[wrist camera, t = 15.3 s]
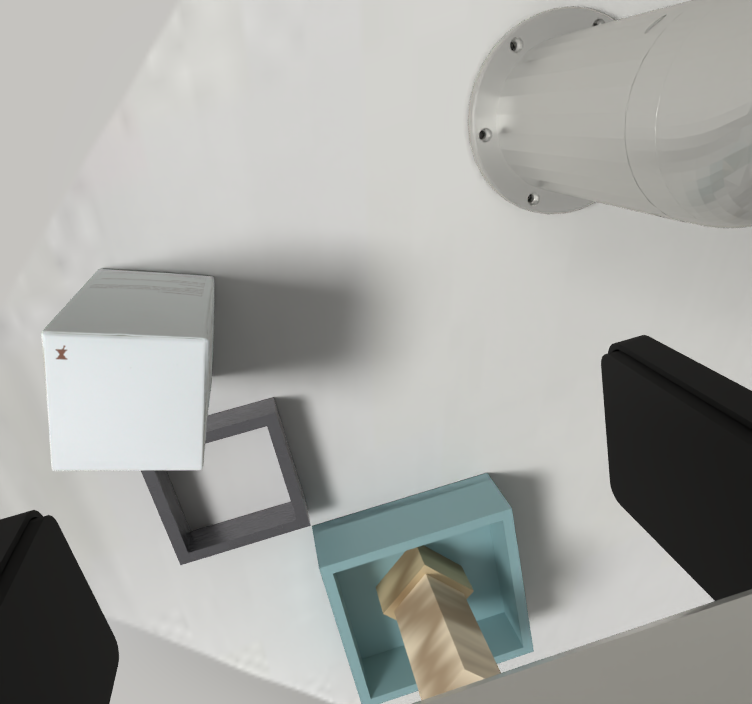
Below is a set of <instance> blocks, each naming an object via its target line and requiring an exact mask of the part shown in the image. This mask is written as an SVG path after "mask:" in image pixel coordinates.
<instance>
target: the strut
mask: <svg viewBox="0 0 752 704" xmlns="http://www.w3.org/2000/svg"><path fill="white" fill-rule="evenodd" d="M376 591H377V594H378V597H379V601H380V604H381V608H382V611H383V614H384V615H387V616H389V617H391V618H393V619H395V620H397V623H398V626H399V629H400V632H401V636H402V639H403V642H404V645H405V649H406V652H407V655H408V658H409V661H410V665H411V668H412V671H413V674H414V678H415V681H416V684H417V687H418V690H419V694H420V697H421V700H424V699H427V698H430V697H433V696H436V695H439V694H442V693H445V692H448V691H451V690H453V689H456V688H459V687H462V686H465V685H468V684H471V683H474V682H477V681H480V680H483V679H486V678H489V677H492V676H494V675H497V674H500V673H501V672H500V670H499V668H498V666H497V664H496V661H495V659H494V657H493V655H492V653H491V651H490V649H489V647H488V644H487V642H486V640H485V638H484V636H483V634H482V632H481V630H480V627H479V625H478V623H477V621H476V619H475V617H474V615H473V612H472V610H471V608H470V606H469V604H468V602H467V600H466V599H467V598H468V597H469V596H470V595H471V594H472V593H473V591H474V590H473V588H472V586H471V584H470V582H469V580H468V578H467V576H466V574H465V572H464V570H463V568H462V566H461V565H459V564H457V563H455V562H453V561H452V560H450V559H448V558H446V557H444V556H442V555H441V554H439V553H437V552H435V551H433V550H431V549H430V548H428V547H426V546H424V545H423V546H419V547H416V548H413V549H410V550H407V551H405V552H404V553H403V555H402V556H401V557H400V558H399V559H398V561H397V562H396V563H395V564H394V566H393V567H392V568H391V569H390V570H389V572H388V573H387V574H386V575H385V576H384V578H383V579H382V580H381V581H380V582H379V584H378V585H377V586H376Z"/></svg>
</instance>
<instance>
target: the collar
mask: <svg viewBox="0 0 752 704" xmlns="http://www.w3.org/2000/svg"><path fill="white" fill-rule="evenodd" d="M265 426H267V427H268V430H269V433H270V436H271V440H272V443H273V446H274V449H275V452H276V455H277V458H278V462H279V465H280V468H281V471H282V474H283V477H284V480H285V484H286V487H287V490H288V493H289V496H290V499H291V502H289V503H285V504H282V505H279V506H275V507H272V508H269V509H265V510H262V511H259V512H255V513H252V514H249V515H245V516H242V517H238V518H235V519H232V520H228V521H225V522H222V523H218V524H215V525H212V526H208V527H205V528H202V529H198V530H195V531H192V532H191V531H190V529H189V526H188V524H187V521H186V519H185V516H184V514H183V511H182V509H181V506H180V504H179V501H178V499H177V496H176V494H175V491H174V489H173V486H172V484H171V481H170V479H169V476H168V474H167V472H166V470H141V472H142V474H143V477H144V479H145V482H146V484H147V486H148V489H149V491H150V493H151V496H152V498H153V501H154V503H155V505H156V508H157V510H158V512H159V515H160V517H161V520H162V522H163V524H164V527H165V529H166V531H167V534H168V536H169V539H170V541H171V543H172V546H173V548H174V550H175V553H176V555H177V558H178V560H179V562H180V565H182V564H186V563H189V562H192V561H196V560H199V559H202V558H206V557H209V556H212V555H215V554H219V553H222V552H225V551H229V550H232V549H235V548H238V547H242V546H245V545H248V544H252V543H255V542H258V541H261V540H265V539H268V538H271V537H275V536H278V535H281V534H284V533H288V532H291V531H294V530H298V529H301V528H304V527H307V526H310V520H309V514H308V508H307V504H306V501H305V498H304V494H303V491H302V488H301V485H300V481H299V478H298V475H297V471H296V468H295V465H294V462H293V458H292V455H291V452H290V449H289V445H288V442H287V439H286V436H285V432H284V429H283V426H282V423H281V419H280V416H279V413H278V410H277V406H276V403H275V400H274V397H273V398H270V399H266V400H262V401H259V402H255V403H252V404H248V405H244V406H241V407H237V408H234V409H230V410H227V411H223V412H219V413H216V414H212V415H209V416H207V427H206V440H205V443H209V442H212V441H216V440H219V439H223V438H226V437H230V436H233V435H237V434H240V433H244V432H247V431H251V430H254V429H258V428H262V427H265Z"/></svg>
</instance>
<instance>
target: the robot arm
mask: <svg viewBox="0 0 752 704" xmlns="http://www.w3.org/2000/svg"><path fill="white" fill-rule="evenodd" d="M593 25H594V26H593ZM510 42H512V43H514V49H513V51H512V50H511V48H510ZM468 130H469V140H470V145H471V149H472V152H473V156H474V159H475V162H476V164H477V166H478V168H479V170H480V172H481V174H482V176H483V177H484V178H485V180H486V181H487V182H488V183H489V185H490V186H491V187H492V189H493V190H494V191H496V192H497V193H498V194H499V195H500V196H501V197H503V198H504V199H505V200H506V201H508V202H510V203H512V204H514V205H516V206H518V207H520V208H523V209H526V210H528V211H532V212H537V213H544V214H563V213H568V212H572V211H576V210H580V209H582V208H584V207H586V206H589V205H591V204H593V203H595V202H599V203H603V204H607V205H612V206H616V207H621V208H625V209H629V210H634V211H638V212H642V213H647V214H651V215H655V216H660V217H664V218H669V219H673V220H677V221H681V222H688V223H692V224H697V225H701V226H706V227H715V228H744V227H751V226H752V0H691V1H687V2H683V3H679V4H676V5H672V6H668V7H664V8H661V9H657V10H653V11H649V12H646V13H642V14H638V15H634V16H631V17H627V18H623V19H619V20H616V21H615V20H614V19H612V18H611V17H610V16H608V15H606V14H604V13H601V12H598V11H596V10H593V9H590V8H582V7H574V6H572V7H562V8H554V9H551V10H548V11H545V12H541V13H539V14H537V15H535V16H532V17H530V18H528V19H526V20H524V21H522V22H521V23H519V24H518V25H517V26H515V27H514V28H513V29H511V30H510V31H508V32H507V33H506V34H505V35H504V36H503V37H502V38H501V40H500V41H499V42H498V43H497V44H496V45H495V46H494V47H493V49H492V50H491V52H490V53H489V55H488V56H487V58H486V59H485V61H484V62H483V64H482V66H481V68H480V71H479V73H478V75H477V78H476V80H475V82H474V86H473V90H472V94H471V98H470V102H469V114H468ZM480 131H483V133H484V137H483V138H482V139H480V138H479V133H480ZM529 195H531V199H530V201H528V196H529ZM601 369H602V382H603V395H604V408H605V422H606V435H607V448H608V461H609V474H610V484H611V489H612V492H613V494H614V496H615V498H616V500H617V501H618V503H619V504H620V505H621V506H622V507H623V508H624V509H625V510H626V511H627V512H628V513H629V514H630V515H631V516H632V517H633V518H634V519H635V520H636V521H637V522H638V523H639V524H640V525H641V526H642V527H643V528H644V529H645V530H646V531H647V532H648V533H649V534H650V535H651V536H652V537H653V538H654V539H655V540H656V541H657V543H658V544H659V545H660V546H661V547H662V548H663V549H664V550H665V551H666V552H667V553H668V554H669V555H670V556H671V557H672V558H673V559H674V560H675V561H676V562H677V563H678V564H679V565H680V566H681V567H682V568H683V569H684V570H685V571H686V572H687V573H688V574H689V575H690V576H691V577H692V578H693V579H694V580H695V581H696V582H697V583H698V584H699V585H700V586H701V587H702V588H703V589H704V590H705V591H706V592H707V593H708V594H709V595H710V596H711V597H712V598H713V599H714V600H715V601H714V602H711V603H708V604H705V605H702V606H699V607H696V608H693V609H690V610H687V611H684V612H681V613H678V614H675V615H672V616H669V617H666V618H663V619H660V620H657V621H654V622H651V623H648V624H646V625H643V626H640V627H637V628H634V629H631V630H628V631H625V632H622V633H619V634H616V635H613V636H610V637H607V638H604V639H601V640H598V641H595V642H592V643H589V644H586V645H583V646H580V647H577V648H574V649H571V650H568V651H565V652H562V653H559V654H556V655H553V656H550V657H547V658H544V659H541V660H538V661H535V662H533V663H530V664H527V665H524V666H521V667H518V668H515V669H512V670H509V671H506V672H503V673H500V674H497V675H494V676H492V677H489V678H486V679H483V680H480V681H477V682H474V683H471V684H468V685H465V686H462V687H459V688H456V689H453V690H451V691H448V692H445V693H442V694H439V695H436V696H433V697H430V698H427V699H424V700H421V701H418V702H415V703H413V704H752V391H751V390H749V389H747V388H745V387H743V386H741V385H739V384H738V383H736V382H734V381H732V380H730V379H728V378H726V377H724V376H722V375H721V374H719V373H717V372H715V371H713V370H711V369H709V368H707V367H706V366H704V365H702V364H700V363H698V362H696V361H694V360H692V359H690V358H689V357H687V356H685V355H683V354H681V353H679V352H677V351H675V350H673V349H672V348H670V347H668V346H666V345H664V344H662V343H660V342H658V341H656V340H655V339H653V338H651V337H649V336H646V335H642V336H638V337H635V338H631V339H628V340H624V341H621V342H617V343H614V344H612V345H611V346H610V348H609V351H608V354H605V355H604V356H603V357H602V360H601ZM118 662H119V652H118V645H117V641H116V639H115V637H114V635H113V633H112V631H111V629H110V627H109V625H108V623H107V621H106V619H105V617H104V615H103V613H102V611H101V609H100V607H99V605H98V603H97V601H96V599H95V597H94V595H93V593H92V591H91V589H90V587H89V585H88V583H87V581H86V579H85V577H84V575H83V573H82V571H81V569H80V567H79V565H78V563H77V561H76V559H75V557H74V555H73V553H72V551H71V549H70V547H69V545H68V543H67V541H66V539H65V537H64V535H63V533H62V531H61V529H60V527H59V525H58V523H57V521H56V520H55V519H54V518H53V517H52V516H50V515H47V516H44V517H43V516H42V515H41V514H40V513H39V512H38V511H35V510H32V511H29V512H25V513H22V514H18V515H15V516H11V517H8V518H4V519H1V520H0V704H109V702H110V698H111V694H112V689H113V685H114V680H115V676H116V672H117V667H118Z"/></svg>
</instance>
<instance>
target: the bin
mask: <svg viewBox="0 0 752 704" xmlns="http://www.w3.org/2000/svg"><path fill="white" fill-rule="evenodd" d="M312 530H313V535H314V541H315V547H316V552H317V558H318V564H319V569H320V572H321V576H322V579H323V582H324V585H325V588H326V592H327V595H328V598H329V601H330V604H331V608H332V611H333V614H334V617H335V620H336V624H337V627H338V630H339V633H340V636H341V640H342V643H343V646H344V649H345V652H346V656H347V659H348V662H349V665H350V668H351V672H352V675H353V678H354V681H355V684H356V688H357V691H358V694H359V697H360V700H361V704H380V703H383V702H386V701H389V700H392V699H395V698H398V697H401V696H404V695H407V694H410V693H413V692H416V691H419V690H418V687H417V684H416V681H415V678H414V674H413V671H412V668H411V665H410V661H409V658H408V655H407V652H406V649H405V645H404V642H403V639H402V636H401V632H400V629H399V626H398V623H397V620H395V619H393V618H391V617H389V616H387V615H384V614H383V611H382V608H381V604H380V601H379V597H378V594H377V591H376V586H377V585H378V584H379V582H380V581H381V580H382V579H383V578H384V576H385V575H386V574H387V573H388V572H389V570H390V569H391V568H392V567H393V566H394V564H395V563H396V562H397V561H398V559H399V558H400V557H401V556H402V555H403V553H404V552H405V551H407V550H410V549H413V548H416V547H419V546H423V545H424V546H426V547H428V548H430V549H431V550H433V551H435V552H437V553H439V554H441V555H442V556H444V557H446V558H448V559H450V560H452V561H453V562H455V563H457V564H459V565H461V566H462V568H463V570H464V572H465V574H466V576H467V578H468V580H469V582H470V584H471V586H472V588H473V590H474V591H473V593H472V594H471V595H470V596H469V597H468V598H467V599H466V600H467V602H468V604H469V606H470V608H471V610H472V612H473V615H474V617H475V619H476V621H477V623H478V625H479V627H480V630H481V632H482V634H483V636H484V638H485V640H486V642H487V644H488V647H489V649H490V651H491V653H492V655H493V657H494V659H495V661H496V664H498V663H501V662H504V661H507V660H510V659H513V658H516V657H518V656H521V655H524V654H527V653H530V652H533V651H534V650H533V644H532V637H531V631H530V624H529V618H528V611H527V605H526V598H525V591H524V585H523V578H522V572H521V565H520V559H519V552H518V545H517V539H516V532H515V526H514V519H513V513H512V508H511V506H510V505H509V504H508V502H507V501H506V499H505V498H504V496H503V495H502V493H501V492H500V491H499V489H498V488H497V486H496V485H495V483H494V482H493V481H492V479H491V478H490V476H489V475H488V473H485V474H482V475H479V476H475V477H472V478H469V479H465V480H462V481H459V482H456V483H452V484H449V485H446V486H442V487H439V488H436V489H432V490H429V491H426V492H423V493H419V494H416V495H413V496H409V497H406V498H403V499H400V500H396V501H393V502H390V503H386V504H383V505H380V506H377V507H373V508H370V509H367V510H363V511H360V512H357V513H354V514H350V515H347V516H344V517H340V518H337V519H334V520H331V521H327V522H324V523H321V524H317V525H314V526H312Z"/></svg>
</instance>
